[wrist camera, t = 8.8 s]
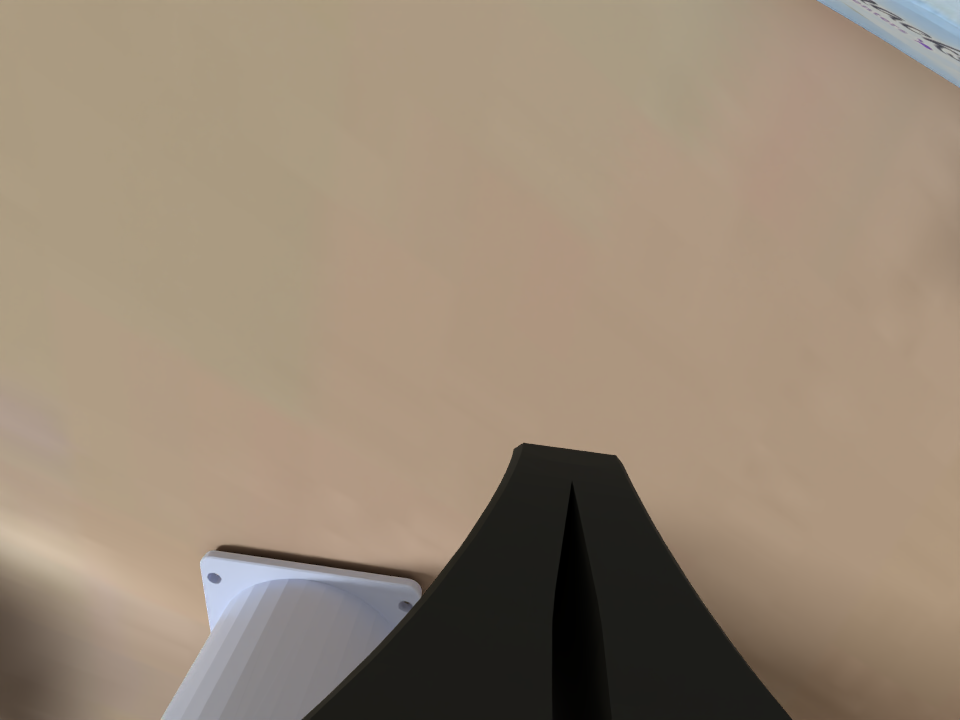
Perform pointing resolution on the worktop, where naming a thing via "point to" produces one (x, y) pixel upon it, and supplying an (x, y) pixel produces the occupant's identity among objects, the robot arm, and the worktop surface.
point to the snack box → (912, 29)
